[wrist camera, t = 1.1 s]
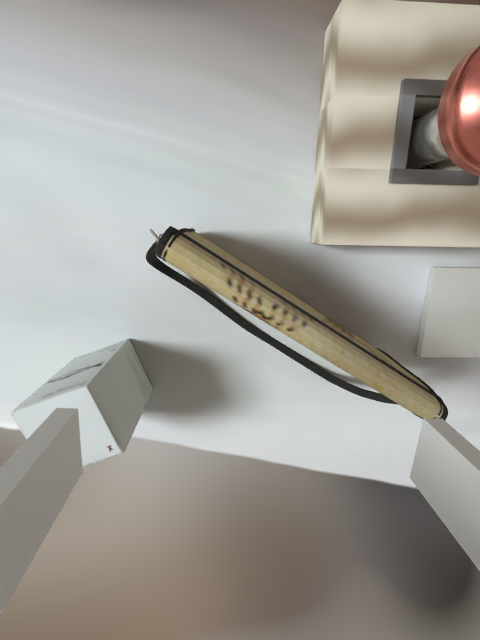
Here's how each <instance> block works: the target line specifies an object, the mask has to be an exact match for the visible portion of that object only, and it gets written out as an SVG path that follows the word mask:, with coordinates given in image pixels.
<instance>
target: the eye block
mask: <svg viewBox="0 0 480 640" xmlns="http://www.w3.org/2000/svg"><path fill="white" fill-rule="evenodd" d="M479 44H480V5H465V4H447V3H430V2H412V1H394V0H342V1H341V3H340V5H339V7H338V9H337V11H336V12H335V14H334V16H333V18H332V20H331V22H330V24H329V26H328V28H327V30H326V32H325V45H324V58H323V72H322V86H321V100H320V113H319V127H318V141H317V155H316V168H315V182H314V196H313V210H312V223H311V237H310V243H316V244H322V245H371V246H427V247H480V176H476V175H473V174H470V173H468V172H465V171H464V170H462V169H460V168H459V167H458V166H457V165H455V164H454V163H453V162H452V160H451V159H450V158H448V159H445V160H442V161H439V162H436V163H435V164H434V170H430V169H406V163H407V156H408V148H409V141H410V134H411V127H412V119H413V117H423V116H424V115H426V114H428V113H430V112H431V111H433V110H435V109H437V108H438V107H439V103H440V98H441V95H442V92H443V89H444V86H445V84H446V82H447V80H448V78H449V76H450V75H451V73H452V71H453V70H454V68H455V67H456V66H457V64H458V63H459V62H460V61H461V60H462V59H463V57H464V56H465V55H467V54H468V53H469V52H470V51H471V50H472V49H474V48H475V47H476V46H478V45H479Z"/></svg>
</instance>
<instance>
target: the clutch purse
mask: <svg viewBox="0 0 480 640" xmlns="http://www.w3.org/2000/svg"><path fill="white" fill-rule="evenodd" d="M150 232H151V233H152V234H153V235H154V236H155V238H156V239H157V241H156V242H155V243H154V244H153V245H152V246H151V248H150V249H149V250H148V252H147V255H146V260H147V262H148V263H149V264H150V265H152V266H153V267H154V268H156V269H157V270H159V271H161V272H162V273H164V274H166V275H167V276H169V277H171V278H172V279H174V280H176V281H177V282H179V283H181V284H182V285H184V286H186V287H187V288H189V289H190V290H192V291H193V292H195V293H196V294H198V295H199V296H201V297H202V298H203V299H205V300H206V301H208V302H209V303H210V304H212V305H213V306H214V307H216V308H217V309H218V310H220V311H221V312H222V313H224V314H225V315H226V316H227V317H229V318H230V319H231V320H233V321H234V322H235V323H237V324H238V325H240V326H241V327H242V328H244V329H245V330H247V331H248V332H250V333H252V334H253V335H255V336H256V337H258V338H260V339H261V340H263V341H265V342H267V343H268V344H270V345H271V346H273V347H275V348H276V349H278V350H279V351H281V352H283V353H284V354H286V355H287V356H289V357H290V358H292V359H294V360H295V361H297V362H298V363H300V364H302V365H303V366H305V367H306V368H308V369H310V370H311V371H313V372H314V373H316V374H318V375H319V376H321V377H322V378H324V379H326V380H328V381H329V382H331V383H333V384H335V385H337V386H339V387H341V388H343V389H345V390H347V391H350V392H352V393H354V394H357V395H359V396H362V397H365V398H369V399H372V400H376V401H380V402H384V403H391V404H399V405H401V406H402V407H404V408H406V409H407V410H409V411H411V412H412V413H413V414H415V415H416V416H418V417H420V418H422V419H424V418H431V419H443V420H444V421H445V420H446V418H447V415H448V409H447V407H446V405H445V404H444V402H443V401H442V399H441V398H440V397H439V396H438V395H437V394H436V393H435V392H434V391H433V389H431V388H430V387H429V386H428V385H427V384H426V383H425V382H423V381H422V380H421V379H420V378H418V377H417V376H416V375H414V374H413V373H411V372H410V371H409V370H407V369H406V368H405V367H403V366H402V365H401V364H399V363H398V362H397V361H396V360H394V359H393V358H392V357H391V356H389V355H388V354H387V353H385V352H384V351H382V350H380V349H378V348H375V347H373V346H372V345H370V344H369V343H367V342H365V341H364V340H362V339H361V338H359V337H358V336H356V335H355V334H353V333H351V332H350V331H348V330H347V329H345V328H344V327H342V326H341V325H339V324H337V323H336V322H334V321H333V320H331V319H330V318H328V317H327V316H325V315H324V314H322V313H320V312H319V311H317V310H316V309H314V308H313V307H311V306H310V305H308V304H306V303H305V302H303V301H302V300H300V299H299V298H297V297H296V296H294V295H292V294H291V293H289V292H288V291H286V290H285V289H283V288H282V287H280V286H278V285H277V284H275V283H274V282H272V281H271V280H269V279H268V278H266V277H264V276H263V275H261V274H260V273H258V272H257V271H255V270H254V269H252V268H251V267H249V266H247V265H246V264H244V263H243V262H241V261H240V260H238V259H237V258H235V257H233V256H232V255H230V254H229V253H227V252H226V251H224V250H223V249H221V248H219V247H218V246H216V245H215V244H213V243H212V242H210V241H209V240H207V239H205V238H204V237H202V236H201V235H199V234H198V233H196V232H195V230H194V229H192V228H191V229H187V228H183V229H180V230H177V229H176V228H173V227H171V226H170V227H169V228H168V229H167V230H166V231H165V232H164V234H160V235H159V237H158V236H157V235H156V234H155V233H154V231H153V230H152V229H150ZM161 235H162V237H161V238H160V236H161ZM156 255H157V256H158V257H159V258H161V259H163V260H164V261H166V262H168V263H170V264H171V265H173V266H174V267H176V268H178V269H179V270H181V271H183V272H184V273H186V274H187V275H189V276H191V277H192V278H194V279H196V280H197V281H199V282H200V283H202V284H204V285H205V286H207V287H209V288H210V289H212V290H214V291H215V292H217V293H218V294H220V295H222V296H223V297H225V298H227V299H228V300H230V301H231V302H233V303H235V304H236V305H238V306H240V307H241V308H243V309H244V310H246V311H248V312H249V313H251V314H253V315H254V316H256V317H257V318H259V319H261V320H262V321H264V322H266V323H267V324H269V325H271V326H272V327H274V328H275V329H277V330H279V331H280V332H282V333H284V334H285V335H287V336H288V337H290V338H292V339H293V340H295V341H297V342H298V343H300V344H301V345H303V346H305V347H306V348H308V349H310V350H311V351H313V352H314V353H316V354H318V355H319V356H321V357H323V358H324V359H326V360H328V361H329V362H331V363H332V364H334V365H336V366H337V367H339V368H341V369H342V370H344V371H345V372H347V373H349V374H350V375H352V376H354V377H355V378H357V379H358V380H360V381H362V382H363V383H365V384H367V385H368V386H370V387H371V388H373V389H375V390H376V391H378V392H380V393H381V394H380V393H376V392H372V391H368V390H365V389H362V388H359V387H356V386H354V385H352V384H349V383H347V382H345V381H343V380H341V379H339V378H337V377H335V376H333V375H331V374H329V373H328V372H326V371H324V370H323V369H321V368H319V367H318V366H316V365H315V364H313V363H311V362H310V361H308V360H307V359H305V358H304V357H302V356H300V355H299V354H297V353H296V352H294V351H292V350H291V349H289V348H288V347H286V346H284V345H283V344H281V343H280V342H278V341H276V340H275V339H273V338H272V337H270V336H268V335H267V334H265V333H264V332H262V331H260V330H259V329H257V328H256V327H254V326H252V325H251V324H249V323H248V322H247V321H245V320H244V319H242V318H241V317H240V316H238V315H237V314H236V313H234V312H233V311H232V310H231V309H229V308H228V307H227V306H225V305H224V304H223V303H221V302H220V301H219V300H217V299H216V298H215V297H213V296H212V295H211V294H209V293H208V292H207V291H205V290H204V289H202V288H201V287H200V286H198V285H197V284H195V283H194V282H192V281H191V280H189V279H187V278H186V277H184V276H183V275H181V274H179V273H178V272H176V271H174V270H173V269H171V268H170V267H168V266H167V265H165V264H164V263H163V262H161V261H160V260H159V259H158V258H157V256H156Z"/></svg>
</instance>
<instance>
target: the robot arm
mask: <svg viewBox="0 0 480 640" xmlns="http://www.w3.org/2000/svg"><path fill="white" fill-rule="evenodd" d="M82 473H83V469H82V455H81V441H80V428H79V415H78V408H56V409H55V410H54V411H53V412H52V413H51V414H50V415H49V416H48V418H47V419H46V420H45V421H44V422H43V423H42V424H41V425H40V426H39V427H38V428H37V429H36V430H35V432H34V433H33V434H32V435H31V436H30V437H29V438H28V439H27V440H26V441H25V443H24V444H23V445H22V446H21V447H20V448H19V449H18V450H17V451H16V452H15V453H14V455H12V457H10V459H9V460H8V461H7V462H6V463H5V464H4V465H3V466H2V467H1V468H0V615H1V614H2V612H3V610H4V608H5V607H6V605H7V603H8V601H9V600H10V598H11V596H12V594H13V593H14V591H15V589H16V588H17V586H18V584H19V582H20V580H21V579H22V577H23V575H24V574H25V572H26V570H27V568H28V566H29V565H30V563H31V561H32V560H33V558H34V556H35V554H36V553H37V551H38V549H39V547H40V546H41V544H42V542H43V540H44V539H45V537H46V535H47V533H48V532H49V530H50V528H51V526H52V525H53V523H54V521H55V519H56V518H57V516H58V514H59V512H60V511H61V509H62V507H63V506H64V504H65V502H66V500H67V499H68V497H69V495H70V493H71V492H72V490H73V488H74V487H75V485H76V483H77V481H78V479H79V478H80V476H81V474H82ZM410 478H411V480H412V481H413V482H414V484H415V485H416V486H417V488H418V489H419V490H420V492H421V493H422V494H423V496H424V497H425V498H426V499H427V501H428V502H429V504H430V505H431V506H432V508H433V509H434V510H435V512H436V513H437V515H438V516H439V517H440V518H441V520H442V521H443V522H444V524H445V525H446V527H447V528H448V529H449V531H450V532H451V533H452V535H453V536H454V537H455V539H456V540H457V541H458V543H459V544H460V545H461V546H462V547H463V549H464V550H465V552H466V553H467V554H468V556H469V557H470V558H471V560H472V561H473V563H474V564H475V565H476V567H477V568H478V569H479V571H480V451H479V450H478V449H476V448H475V447H474V446H473V445H472V444H471V443H470V442H468V441H467V440H466V439H465V438H464V437H463V436H462V435H460V434H459V433H458V432H457V431H456V430H455V429H454V428H452V427H451V426H450V425H449V424H448V423H447V422H445V421H444V420H443V419H431V418H424V419H423V423H422V427H421V432H420V436H419V440H418V445H417V449H416V453H415V457H414V462H413V466H412V470H411V475H410Z"/></svg>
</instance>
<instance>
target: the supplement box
mask: <svg viewBox="0 0 480 640" xmlns="http://www.w3.org/2000/svg"><path fill="white" fill-rule="evenodd" d="M152 390H153V388H152V386H151V384H150V382H149V380H148V377H147V375H146V373H145V371H144V369H143V367H142V364H141V362H140V360H139V358H138V356H137V354H136V352H135V350H134V347H133V345H132V343H131V341H130V340H129V339H127V340H125V341H122V342H120V343H117V344H115V345H112V346H109V347H107V348H104V349H101V350H98V351H95V352H92V353H89V354H86V355H83V356H80V357H76V358H74V359H73V360H72V361H71V362H69V363H68V364H67V365H66V366H65V367H63V368H62V369H61V370H60V371H59V372H58V373H56V374H55V375H54V376H53V377H52V378H50V379H49V380H48V381H47V382H46V383H45V384H43V385H42V386H41V387H40V388H39V389H38V390H36V391H35V392H34V393H33V394H32V395H31V396H30V397H28V398H27V399H26V400H25V401H24V402H23V403H21V404H20V405H19V406H18V407H17V408H16V409H14V410H13V411H12V412H11V415H12V416H13V418H14V420H15V421H16V423H17V425H18V426H19V428H20V430H21V431H22V433H23V434H24V436H25V437H26V439H28V438H29V437H30V436H31V435H32V434H33V433H34V432H35V430H36V429H37V428H38V427H39V426H40V425H41V424H42V423H43V422H44V421H45V420H46V419H47V418H48V416H49V415H50V414H51V413H52V412H53V411H54V410H55V409H56V408H78V415H79V428H80V441H81V455H82V467H84V466H88V465H91V464H93V463H96V462H99V461H102V460H105V459H108V458H111V457H114V456H117V455H120V454H123V453H124V452H125V449H126V447H127V445H128V443H129V440H130V438H131V436H132V434H133V432H134V430H135V427H136V425H137V423H138V421H139V419H140V416H141V414H142V412H143V410H144V408H145V405H146V403H147V401H148V399H149V397H150V394H151V392H152Z"/></svg>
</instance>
